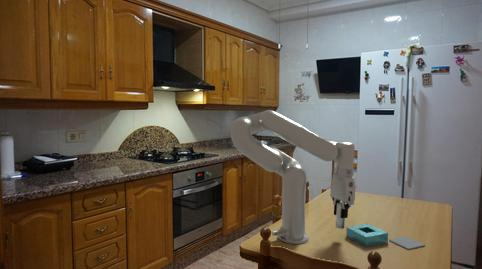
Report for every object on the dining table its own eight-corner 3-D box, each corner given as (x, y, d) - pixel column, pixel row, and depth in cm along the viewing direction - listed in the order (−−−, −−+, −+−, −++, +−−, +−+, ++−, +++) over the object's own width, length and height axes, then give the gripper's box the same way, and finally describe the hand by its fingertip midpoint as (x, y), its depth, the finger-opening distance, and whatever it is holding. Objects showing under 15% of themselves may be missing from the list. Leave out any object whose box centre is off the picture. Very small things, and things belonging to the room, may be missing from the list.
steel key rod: (339, 229, 125) (340, 205, 125) (333, 226, 129) (335, 202, 128) (346, 228, 127) (347, 204, 126) (340, 225, 130) (341, 201, 129)
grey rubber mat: (408, 249, 118) (408, 248, 118) (389, 240, 126) (389, 239, 126) (425, 245, 121) (425, 244, 121) (405, 237, 129) (405, 236, 129)
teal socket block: (366, 247, 120) (366, 237, 120) (346, 236, 131) (346, 227, 130) (387, 242, 124) (388, 232, 124) (367, 232, 135) (367, 223, 135)
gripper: (365, 176, 120) (362, 222, 121) (337, 168, 135) (334, 209, 136) (350, 177, 117) (346, 224, 118) (323, 168, 132) (320, 210, 134)
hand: (340, 215), depth 127 cm, fingers closed on steel key rod, 3 cm apart
